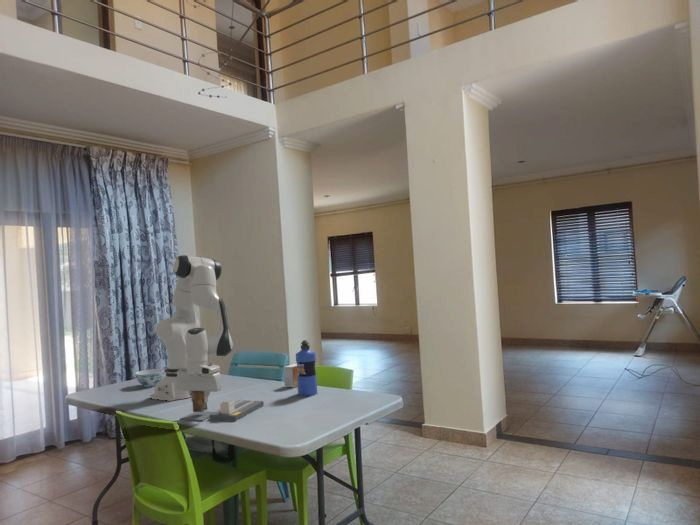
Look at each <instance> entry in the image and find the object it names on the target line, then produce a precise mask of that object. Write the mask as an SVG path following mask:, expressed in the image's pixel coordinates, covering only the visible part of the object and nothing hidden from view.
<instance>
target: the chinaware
mask: <svg viewBox="0 0 700 525" xmlns="http://www.w3.org/2000/svg"><path fill="white" fill-rule="evenodd" d="M164 370H165V369H163V368H153V369H152V368H151V369H144V370H139V371H136V372H134V376H135V379H136V381H137V382H138V383H139V384H141V385H142V386H143V387H144V388H152V387H151V386H153V387H155V385H156V384H157V383H158V382H160V381H161V380H162V379H163V378H164V374H165V371H164Z"/></svg>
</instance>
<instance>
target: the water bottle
mask: <svg viewBox="0 0 700 525" xmlns="http://www.w3.org/2000/svg"><path fill="white" fill-rule="evenodd" d="M309 343H310V342H309V341H308V340H307V339H305V340H302V341H301V342H300V351H298V352H297V353H295V362H296V364H297V368H298V373H297V384H298V386H297V395H298V396H299V395H302V396H301V397H311V396H310V395H313V396H316V395H318V382H317V380H318V379H317V373H316V372H317V371H316V360H317V358H316V356H317V355H316V352H315V351H313V350H311V349H310V348H311V347H310V344H309ZM315 394H316V395H315Z"/></svg>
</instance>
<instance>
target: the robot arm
mask: <svg viewBox="0 0 700 525" xmlns="http://www.w3.org/2000/svg"><path fill="white" fill-rule="evenodd" d="M173 273H174V274H175V276H176V277H178V278H177V281H176V285H175V289H174V293H173V296H172V297H173V298H172V305H173V307H174V309H175V315H174V316H171V317H166V318H164V319H162V320H160V321H159V322H158V323H157V324H156V327H155V333H156V336H157V337H158V338H159V339H160V340H161V341H162V342H163V344H164V346H165V350H166V354H167V364H168V365H167V367H168V368H166V369H164V373H165V376H163V377H162V379H161V380H160V381H159V382H158V383H157V384H156V386H154V393H153V394H151V395H150V396H149V399H150V398H152V399H153V400H157V399H159V400H158V401H165V400H167V401H166V402H169V401H170V402H171V401H176V400H183V399H189V398H190V400H191V402H192V392H194V391H204V394H205V396H204V398H202V400H203V401H202V402H207V403H208V401H209V400H208V399H209V396H210V394H211V393H215V392H216V393H217V392H220V391H222V388H223V380H222V379H223V378H222V374H221V373H220V371H221V368H220V366H219V365H217V364H215V363H212V362H211V361H209V360H210V359H209V357H227V356H228V355H229V354H230V353H231V352H232V351H233V345H234V344H233V339H232V336H231V332H230V327H229V321H228V314H227V310H226V305H225V302H224V299H223V298H221V297H220V296H219V294H218V292H217V280H219V278H221V274H222V265H221V262H220V261H218V260H216V259H212V258H211V259H210V258H206V257H202V256H191V255H186V254H184V255H178V256H177V257H176V259H175V260H174V262H173ZM196 307H199V308H201V309H204V310H207V311H211V312H213V313H214V314H215V315H216V317H217V318H216V319H217V324H218V329H219V331H218V332H216V333H214V332H213V333H207V331H206V329H205V328H203V327H200V321H199V319H198V318H197V314H196V310H197V308H196Z"/></svg>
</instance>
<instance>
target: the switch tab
mask: <svg viewBox="0 0 700 525" xmlns="http://www.w3.org/2000/svg"><path fill="white" fill-rule="evenodd" d="M234 403H235V401H234V400H228V399H227V400H224V401H222V402H221V403H219V404H220V408H219V410H221V414H228V413H229V412H231V411H233V410H235V405H234Z"/></svg>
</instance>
